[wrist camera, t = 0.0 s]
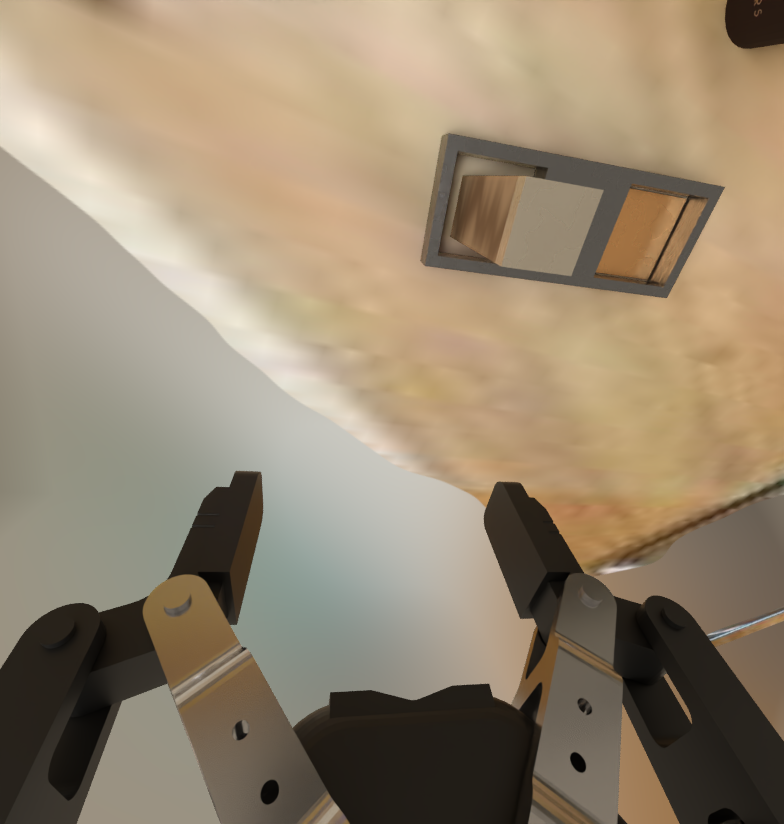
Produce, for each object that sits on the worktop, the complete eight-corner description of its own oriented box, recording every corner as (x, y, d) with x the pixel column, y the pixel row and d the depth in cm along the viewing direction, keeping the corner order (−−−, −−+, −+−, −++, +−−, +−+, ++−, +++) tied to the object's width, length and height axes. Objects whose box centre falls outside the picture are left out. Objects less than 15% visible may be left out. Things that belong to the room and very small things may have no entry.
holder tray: (441, 136, 32) (448, 133, 29) (702, 186, 36) (724, 187, 34) (420, 260, 37) (424, 265, 35) (650, 291, 41) (666, 298, 39)
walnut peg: (462, 175, 33) (526, 176, 22) (514, 184, 34) (603, 190, 22) (450, 236, 36) (501, 266, 24) (498, 243, 37) (571, 276, 25)
